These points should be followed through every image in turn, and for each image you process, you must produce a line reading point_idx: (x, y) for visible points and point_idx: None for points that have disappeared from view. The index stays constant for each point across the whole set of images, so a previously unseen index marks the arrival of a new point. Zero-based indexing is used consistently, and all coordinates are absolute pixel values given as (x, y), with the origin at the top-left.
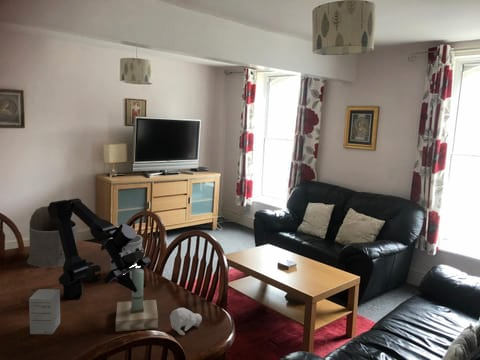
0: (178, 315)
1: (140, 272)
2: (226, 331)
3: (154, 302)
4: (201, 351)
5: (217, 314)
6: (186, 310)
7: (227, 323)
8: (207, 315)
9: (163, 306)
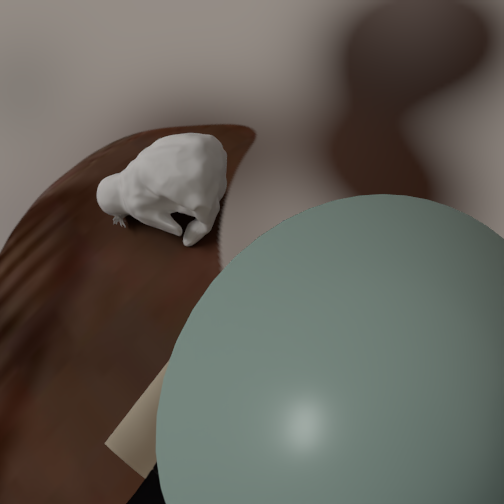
0: (214, 137)
1: (416, 211)
2: (108, 150)
3: (133, 424)
4: (230, 127)
5: (34, 224)
6: (162, 138)
7: (69, 174)
8: (49, 239)
9: (84, 432)
